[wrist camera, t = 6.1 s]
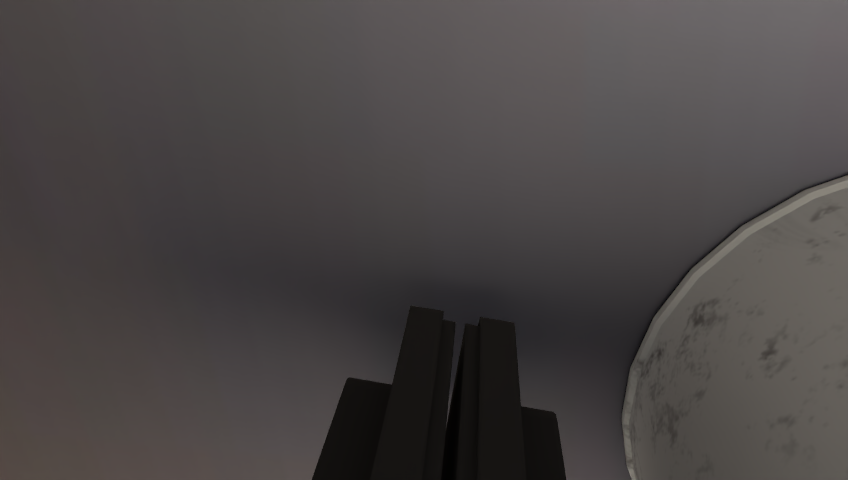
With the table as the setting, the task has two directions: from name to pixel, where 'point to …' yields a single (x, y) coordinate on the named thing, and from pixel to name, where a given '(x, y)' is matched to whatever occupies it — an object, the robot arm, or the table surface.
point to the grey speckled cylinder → (751, 355)
